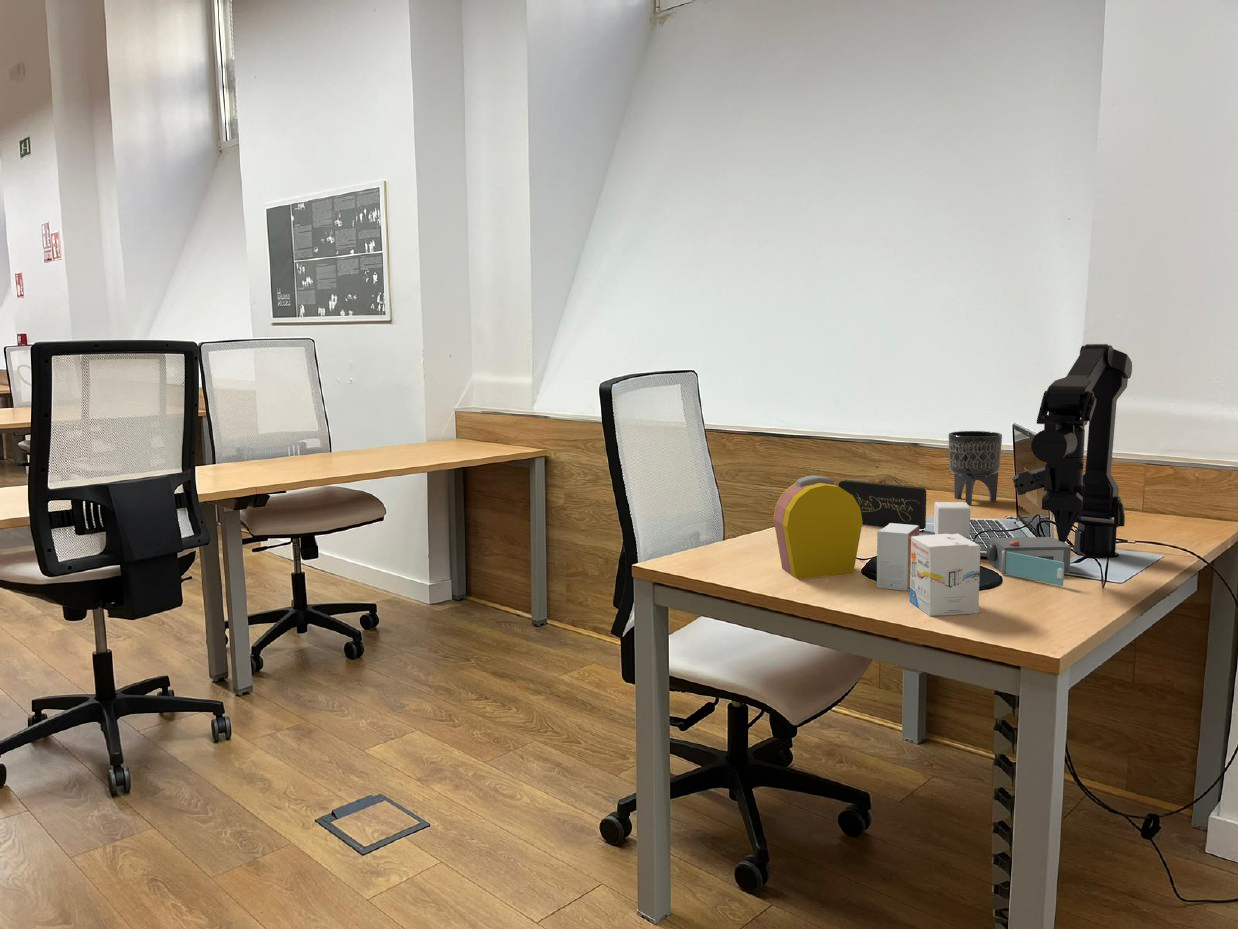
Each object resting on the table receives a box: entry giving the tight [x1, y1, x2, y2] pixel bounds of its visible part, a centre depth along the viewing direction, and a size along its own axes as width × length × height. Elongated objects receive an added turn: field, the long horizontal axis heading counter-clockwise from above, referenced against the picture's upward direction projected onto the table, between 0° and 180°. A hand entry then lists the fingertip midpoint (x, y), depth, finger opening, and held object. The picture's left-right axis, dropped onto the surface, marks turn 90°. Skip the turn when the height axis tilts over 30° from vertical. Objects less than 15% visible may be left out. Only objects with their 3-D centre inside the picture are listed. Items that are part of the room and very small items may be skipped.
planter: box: [948, 430, 1003, 506], centre depth 239 cm, size 13×13×18 cm
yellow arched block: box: [772, 474, 863, 580], centre depth 177 cm, size 15×8×18 cm, turn 100°
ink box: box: [909, 533, 981, 617], centre depth 152 cm, size 9×8×12 cm
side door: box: [1000, 550, 1065, 587], centre depth 167 cm, size 12×1×4 cm, turn 37°
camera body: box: [985, 536, 1072, 574], centre depth 175 cm, size 13×8×6 cm, turn 87°
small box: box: [876, 523, 920, 592], centre depth 167 cm, size 8×6×10 cm
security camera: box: [933, 501, 971, 539], centre depth 188 cm, size 6×7×10 cm
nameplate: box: [837, 479, 928, 529], centre depth 214 cm, size 21×2×10 cm, turn 48°
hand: (1062, 541), depth 166 cm, fingers closed
